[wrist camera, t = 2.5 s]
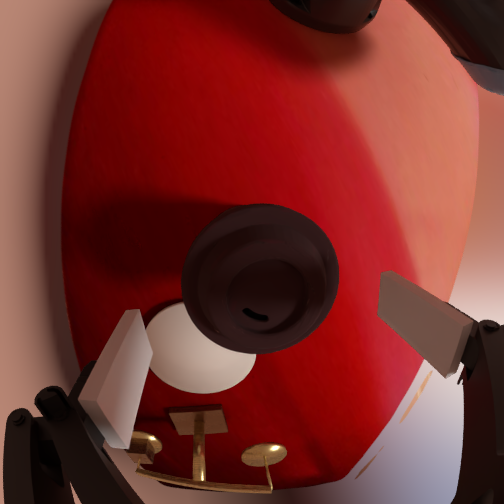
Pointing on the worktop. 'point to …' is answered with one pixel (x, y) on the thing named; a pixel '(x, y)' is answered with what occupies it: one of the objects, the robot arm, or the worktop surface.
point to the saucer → (192, 354)
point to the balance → (202, 449)
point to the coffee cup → (259, 278)
